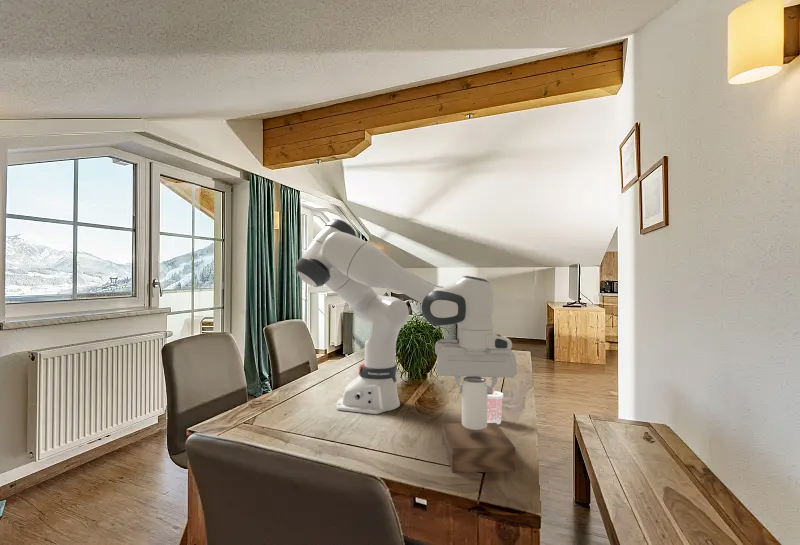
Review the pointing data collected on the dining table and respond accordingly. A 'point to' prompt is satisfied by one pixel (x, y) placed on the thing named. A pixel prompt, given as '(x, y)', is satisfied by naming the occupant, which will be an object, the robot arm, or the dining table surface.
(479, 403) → the can
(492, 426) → the riser block
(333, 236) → the robot arm
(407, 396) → the dining table surface
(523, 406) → the dining table surface
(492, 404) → the beverage cup
